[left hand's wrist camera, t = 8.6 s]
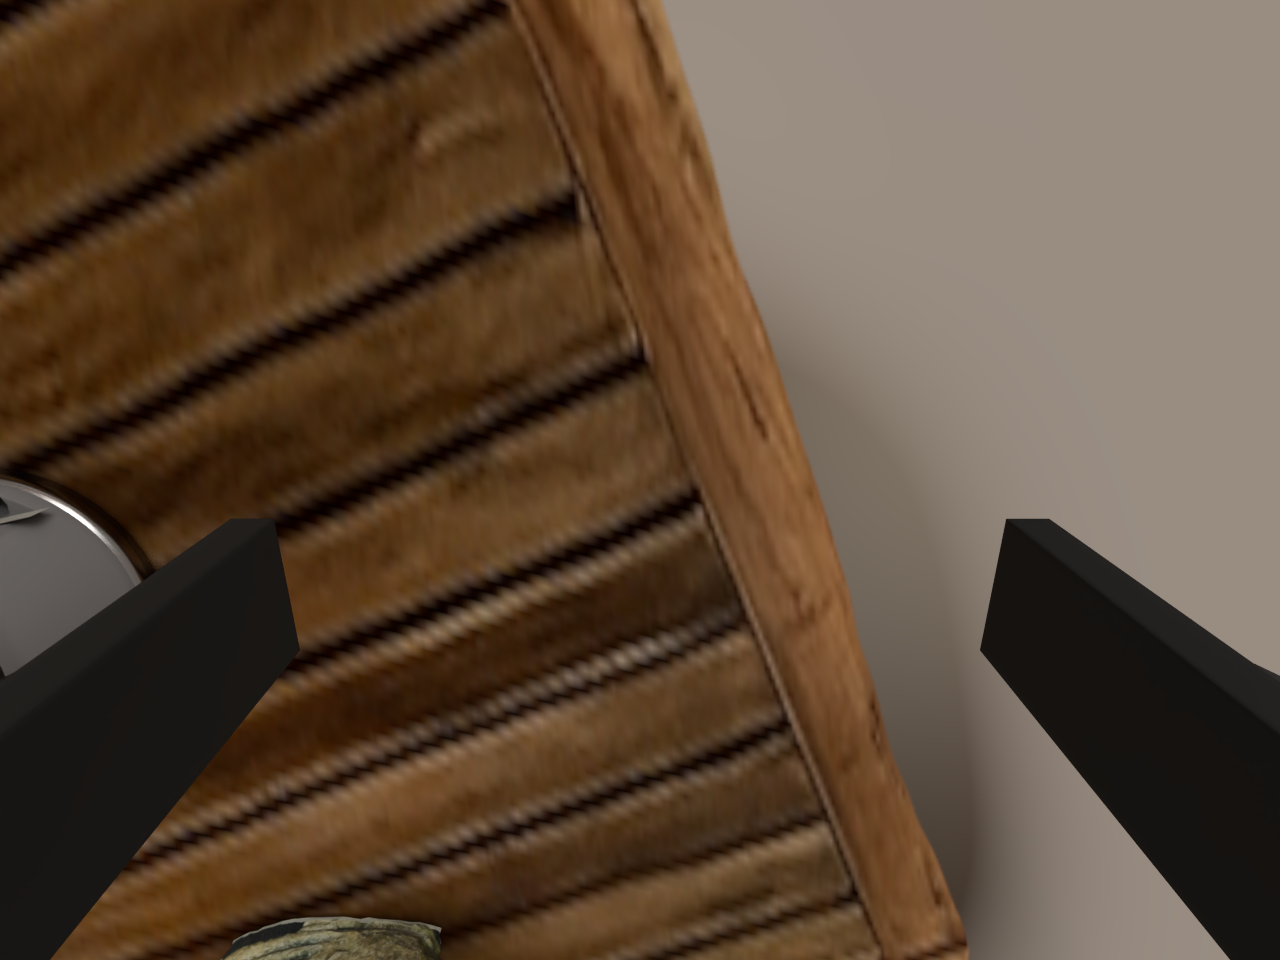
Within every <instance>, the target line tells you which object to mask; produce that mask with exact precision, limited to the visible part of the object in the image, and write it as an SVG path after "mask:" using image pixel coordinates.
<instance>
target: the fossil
mask: <svg viewBox="0 0 1280 960" xmlns="http://www.w3.org/2000/svg"><path fill="white" fill-rule="evenodd" d="M440 932H441V928H440V927H437V926H433V925H429V924H425V923H421V922H407V921H400V920H388V919H377V918H369V917H368V918H363V919H356V918H350V917H311V918H300V919H291V920H286V921H282V922H279V923H276V924H272V925H269V926H265V927H263V928H261V929H260V930H258V931H253V932H249V933H247V934H245V935H243V936H241V937H239V938H237V939H236V940H234V941H233V943H232V946H231V947H230V949H229V950H228V952H227V953H226V954H225V956H223V957H222V958H221V959H220V960H440V958H439V955H440V951H441V941H440V938H439V936H440Z"/></svg>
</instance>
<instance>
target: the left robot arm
mask: <svg viewBox="0 0 1280 960" xmlns="http://www.w3.org/2000/svg"><path fill="white" fill-rule="evenodd" d="M299 651H300V648H299V643H298V638H297V633H296V628H295V623H294V618H293V613H292V608H291V603H290V598H289V593H288V588H287V583H286V578H285V573H284V568H283V563H282V558H281V553H280V548H279V543H278V538H277V533H276V528H275V523H274V519H230V520H229V521H227V522H226V523H224V524H223V525H222V526H220V527H219V528H217V529H216V530H214V531H213V532H212V533H210V534H209V535H207V536H206V537H205V538H203V539H202V540H200V541H199V542H198V543H196V544H195V545H193V546H192V547H190V548H189V549H188V550H186V551H185V552H183V553H182V554H181V555H179V556H178V557H176V558H175V559H173V560H172V561H171V562H169V563H168V564H166V565H165V566H164V567H162V568H161V569H159V570H158V571H157V572H154V570H153V568H152V566H151V564H150V562H149V561H148V559H147V557H146V556H145V554H144V553H143V551H142V549H141V548H140V547H139V545H138V544H137V543H136V541H135V540H134V539H133V538H132V536H131V535H130V534H129V533H128V532H127V531H126V530H125V529H124V528H123V527H122V526H121V525H120V524H119V523H118V522H117V521H116V520H115V519H114V518H113V517H112V516H110V515H109V514H108V513H107V512H106V511H104V510H103V509H102V508H101V507H99V506H98V505H96V504H95V503H93V502H92V501H90V500H89V499H87V498H86V497H84V496H82V495H81V494H79V493H77V492H75V491H73V490H71V489H69V488H67V487H65V486H63V485H61V484H59V483H56V482H54V481H51V480H49V479H46V478H43V477H39V476H36V475H33V474H28V473H24V472H20V471H13V470H6V469H0V960H50V959H51V958H52V956H53V955H54V954H55V953H56V952H57V950H58V949H59V948H60V947H61V945H62V944H63V943H64V942H65V940H66V939H67V938H68V937H69V935H70V934H71V933H72V932H73V930H74V929H75V928H76V927H77V926H78V924H79V923H80V922H81V921H82V919H83V918H84V917H85V916H86V914H87V913H88V912H89V911H90V909H91V908H92V907H93V906H94V904H95V903H96V902H97V901H98V900H99V898H100V897H101V896H102V895H103V893H104V892H105V891H106V890H107V888H108V887H109V886H110V885H111V883H112V882H113V881H114V880H115V878H116V877H117V876H118V875H119V874H120V872H121V871H122V870H123V869H124V867H125V866H126V865H127V864H128V862H129V861H130V860H131V859H132V857H133V856H134V855H135V854H136V852H137V851H138V850H139V849H140V848H141V846H142V845H143V844H144V843H145V841H146V840H147V839H148V838H149V836H150V835H151V834H152V833H153V831H154V830H155V829H156V828H157V827H158V825H159V824H160V823H161V822H162V820H163V819H164V818H165V817H166V815H167V814H168V813H169V812H170V810H171V809H172V808H173V807H174V805H175V804H176V803H177V802H178V801H179V799H180V798H181V797H182V796H183V794H184V793H185V792H186V791H187V789H188V788H189V787H190V786H191V784H192V783H193V782H194V781H195V779H196V778H197V777H198V776H199V775H200V773H201V772H202V771H203V770H204V768H205V767H206V766H207V765H208V763H209V762H210V761H211V760H212V758H213V757H214V756H215V755H216V753H217V752H218V751H219V750H220V749H221V747H222V746H223V745H224V744H225V742H226V741H227V740H228V739H229V737H230V736H231V735H232V734H233V732H234V731H235V730H236V729H237V727H238V726H239V725H240V724H241V723H242V721H243V720H244V719H245V718H246V716H247V715H248V714H249V713H250V711H251V710H252V709H253V708H254V706H255V705H256V704H257V703H258V702H259V700H260V699H261V698H262V697H263V695H264V694H265V693H266V692H267V690H268V689H269V688H270V687H271V685H272V684H273V683H274V682H275V680H276V679H277V678H278V677H279V676H280V674H281V673H282V672H283V671H284V669H285V668H286V667H287V666H288V664H289V663H290V662H291V661H292V659H293V658H294V657H295V656H296V654H297V653H298V652H299ZM980 651H981V652H982V653H983V654H984V656H985V657H986V658H987V659H988V661H989V662H990V663H991V664H992V666H993V667H994V668H995V669H996V671H997V672H998V673H999V674H1000V676H1001V677H1002V678H1003V679H1004V680H1005V682H1006V683H1007V684H1008V685H1009V687H1010V688H1011V689H1012V690H1013V692H1014V693H1015V694H1016V695H1017V697H1018V698H1019V699H1020V700H1021V701H1022V703H1023V704H1024V705H1025V706H1026V708H1027V709H1028V710H1029V711H1030V713H1031V714H1032V715H1033V716H1034V718H1035V719H1036V720H1037V721H1038V723H1039V724H1040V725H1041V726H1042V727H1043V729H1044V730H1045V731H1046V732H1047V734H1048V735H1049V736H1050V737H1051V739H1052V740H1053V741H1054V742H1055V744H1056V745H1057V746H1058V747H1059V749H1060V750H1061V751H1062V752H1063V753H1064V755H1065V756H1066V757H1067V758H1068V760H1069V761H1070V762H1071V763H1072V765H1073V766H1074V767H1075V768H1076V770H1077V771H1078V772H1079V773H1080V775H1081V776H1082V777H1083V778H1084V779H1085V781H1086V782H1087V783H1088V784H1089V786H1090V787H1091V788H1092V789H1093V791H1094V792H1095V793H1096V794H1097V796H1098V797H1099V798H1100V799H1101V801H1102V802H1103V803H1104V804H1105V805H1106V807H1107V808H1108V809H1109V810H1110V812H1111V813H1112V814H1113V815H1114V817H1115V818H1116V819H1117V820H1118V822H1119V823H1120V824H1121V825H1122V826H1123V828H1124V829H1125V830H1126V831H1127V833H1128V834H1129V835H1130V836H1131V838H1132V839H1133V840H1134V841H1135V843H1136V844H1137V845H1138V846H1139V848H1140V849H1141V850H1142V851H1143V852H1144V854H1145V855H1146V856H1147V857H1148V859H1149V860H1150V861H1151V862H1152V864H1153V865H1154V866H1155V867H1156V869H1157V870H1158V871H1159V872H1160V874H1161V875H1162V876H1163V877H1164V878H1165V880H1166V881H1167V882H1168V883H1169V885H1170V886H1171V887H1172V888H1173V890H1174V891H1175V892H1176V893H1177V895H1178V896H1179V897H1180V898H1181V900H1182V901H1183V902H1184V903H1185V904H1186V906H1187V907H1188V908H1189V909H1190V911H1191V912H1192V913H1193V914H1194V916H1195V917H1196V918H1197V919H1198V921H1199V922H1200V923H1201V924H1202V926H1203V927H1204V928H1205V929H1206V930H1207V932H1208V933H1209V934H1210V935H1211V937H1212V938H1213V939H1214V940H1215V942H1216V943H1217V944H1218V945H1219V947H1220V948H1221V949H1222V950H1223V952H1224V953H1225V954H1226V955H1227V956H1228V958H1229V959H1230V960H1280V676H1279V675H1277V674H1275V673H1273V672H1271V671H1269V670H1267V669H1264V668H1262V667H1260V666H1258V665H1256V664H1253V663H1252V662H1251V661H1249V660H1248V659H1246V658H1245V657H1243V656H1242V655H1241V654H1239V653H1238V652H1237V651H1235V650H1234V649H1232V648H1231V647H1229V646H1228V645H1227V644H1225V643H1224V642H1222V641H1221V640H1220V639H1218V638H1217V637H1215V636H1214V635H1212V634H1211V633H1210V632H1208V631H1207V630H1205V629H1204V628H1203V627H1201V626H1200V625H1198V624H1197V623H1195V622H1194V621H1193V620H1191V619H1190V618H1188V617H1187V616H1186V615H1184V614H1183V613H1181V612H1180V611H1179V610H1177V609H1176V608H1174V607H1173V606H1172V605H1170V604H1169V603H1167V602H1166V601H1164V600H1163V599H1162V598H1160V597H1159V596H1157V595H1156V594H1155V593H1153V592H1152V591H1150V590H1149V589H1147V588H1146V587H1145V586H1143V585H1142V584H1140V583H1139V582H1138V581H1136V580H1135V579H1133V578H1132V577H1131V576H1129V575H1128V574H1126V573H1125V572H1123V571H1122V570H1121V569H1119V568H1118V567H1116V566H1115V565H1114V564H1112V563H1111V562H1109V561H1108V560H1106V559H1105V558H1104V557H1102V556H1101V555H1099V554H1098V553H1097V552H1095V551H1094V550H1092V549H1091V548H1090V547H1088V546H1087V545H1085V544H1084V543H1082V542H1081V541H1080V540H1078V539H1077V538H1075V537H1074V536H1073V535H1071V534H1070V533H1068V532H1067V531H1066V530H1064V529H1063V528H1061V527H1060V526H1058V525H1057V524H1056V523H1054V522H1053V521H1051V520H1050V519H1006V523H1005V528H1004V533H1003V538H1002V543H1001V548H1000V553H999V558H998V563H997V568H996V573H995V578H994V583H993V588H992V593H991V598H990V603H989V608H988V613H987V618H986V623H985V628H984V633H983V638H982V643H981V648H980Z"/></svg>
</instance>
